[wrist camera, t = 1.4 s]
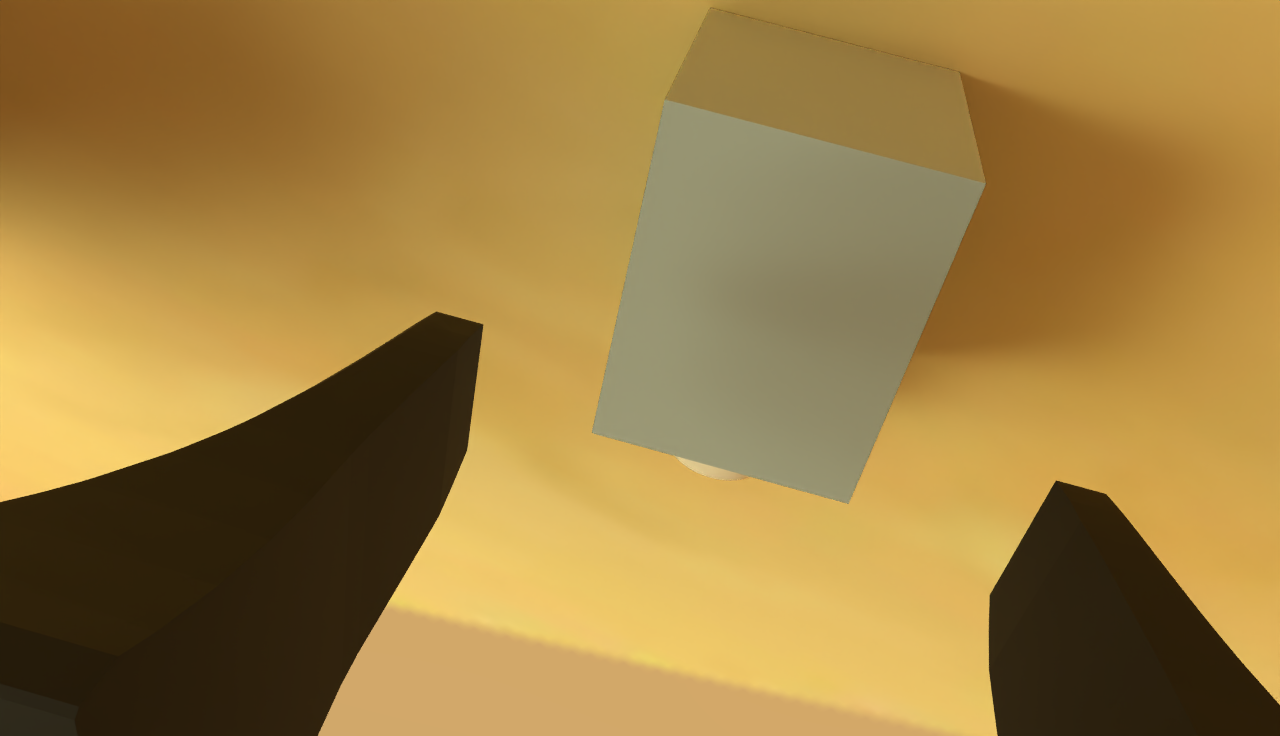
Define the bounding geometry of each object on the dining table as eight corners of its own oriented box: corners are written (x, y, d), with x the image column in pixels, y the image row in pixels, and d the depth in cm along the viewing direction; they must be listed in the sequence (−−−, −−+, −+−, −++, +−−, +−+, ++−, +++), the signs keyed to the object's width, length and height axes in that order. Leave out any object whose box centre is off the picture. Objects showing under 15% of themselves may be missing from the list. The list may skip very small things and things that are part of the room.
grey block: (630, 348, 22) (577, 496, 18) (711, 6, 18) (664, 99, 14) (830, 403, 22) (822, 564, 18) (959, 69, 18) (986, 183, 14)
